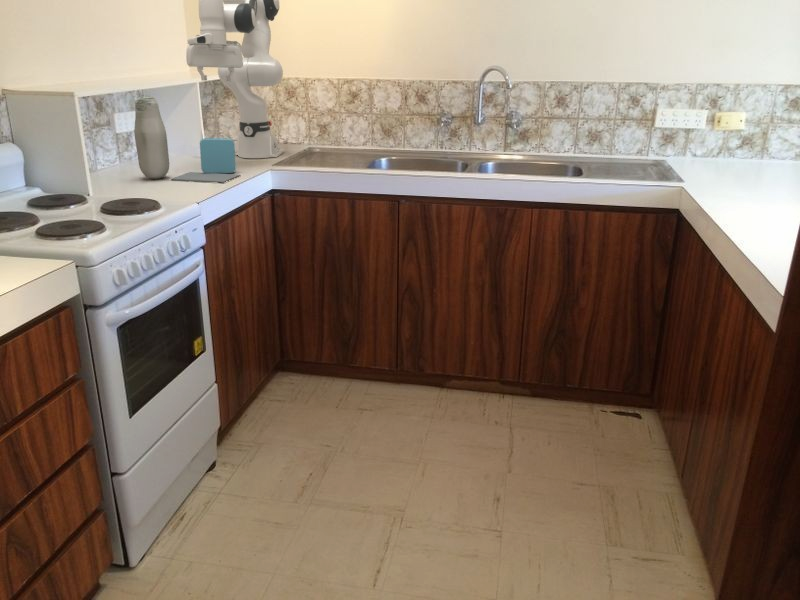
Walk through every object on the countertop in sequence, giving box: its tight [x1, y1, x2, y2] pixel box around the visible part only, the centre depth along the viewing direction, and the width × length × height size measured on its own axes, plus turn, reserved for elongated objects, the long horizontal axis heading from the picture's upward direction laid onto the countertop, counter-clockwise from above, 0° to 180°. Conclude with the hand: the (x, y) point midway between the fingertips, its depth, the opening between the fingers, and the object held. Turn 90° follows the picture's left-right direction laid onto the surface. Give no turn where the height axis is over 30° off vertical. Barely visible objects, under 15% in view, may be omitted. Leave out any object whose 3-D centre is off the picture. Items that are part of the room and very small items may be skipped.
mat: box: [170, 171, 241, 184], centre depth 238 cm, size 13×20×1 cm, turn 77°
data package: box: [199, 137, 237, 174], centre depth 244 cm, size 12×4×12 cm, turn 106°
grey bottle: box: [133, 95, 170, 180], centre depth 232 cm, size 10×10×28 cm
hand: (216, 80), depth 244 cm, fingers open, 8 cm apart
